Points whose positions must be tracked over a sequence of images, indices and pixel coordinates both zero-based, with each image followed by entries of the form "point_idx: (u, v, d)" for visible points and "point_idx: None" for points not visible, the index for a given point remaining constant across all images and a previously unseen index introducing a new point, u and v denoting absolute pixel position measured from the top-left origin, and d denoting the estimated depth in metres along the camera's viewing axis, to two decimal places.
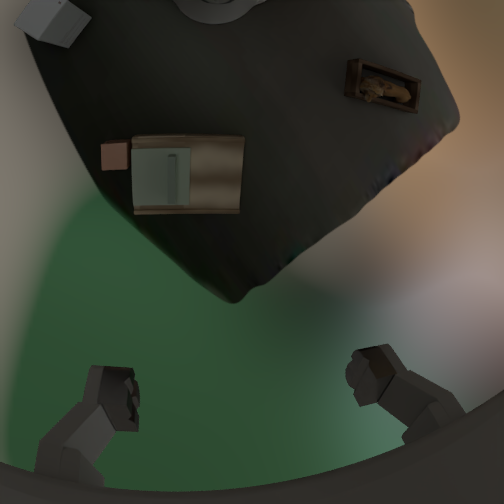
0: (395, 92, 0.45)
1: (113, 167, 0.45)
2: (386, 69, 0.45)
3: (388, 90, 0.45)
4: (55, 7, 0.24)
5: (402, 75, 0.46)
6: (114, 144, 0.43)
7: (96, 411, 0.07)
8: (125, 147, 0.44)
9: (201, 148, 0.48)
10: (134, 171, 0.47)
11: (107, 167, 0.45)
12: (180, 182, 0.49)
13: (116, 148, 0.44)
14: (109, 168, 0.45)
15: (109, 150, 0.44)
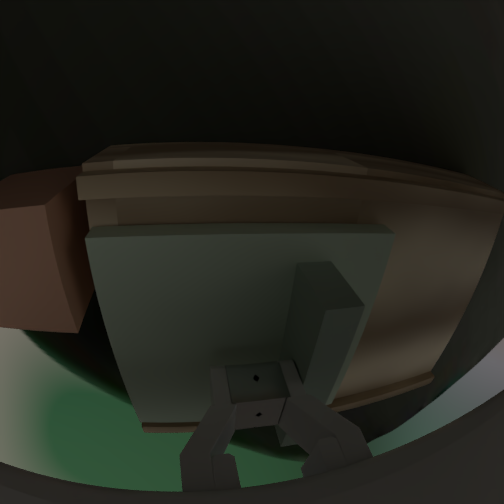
0: None
1: (20, 321, 0.08)
2: None
3: None
4: None
5: None
6: None
7: (233, 411, 0.08)
8: (45, 232, 0.07)
9: (412, 227, 0.11)
10: (118, 335, 0.10)
11: None
12: None
13: (4, 237, 0.07)
14: (7, 322, 0.08)
15: None
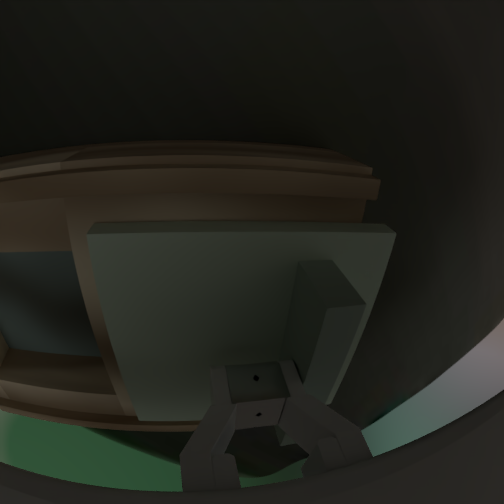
0: None
1: None
2: None
3: None
4: None
5: None
6: None
7: (233, 411, 0.08)
8: None
9: None
10: (118, 332, 0.10)
11: None
12: None
13: None
14: None
15: None
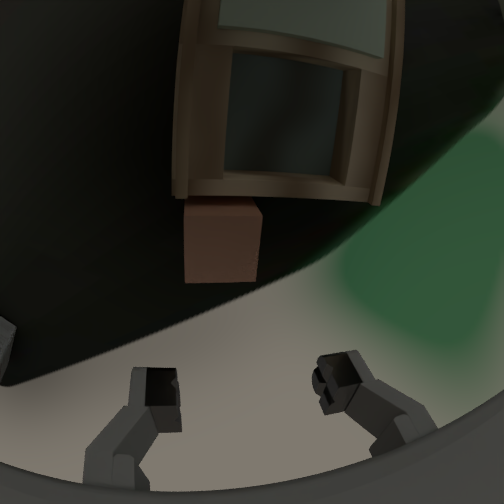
0: None
1: (252, 252, 0.18)
2: None
3: None
4: None
5: None
6: (187, 248, 0.17)
7: (144, 414, 0.07)
8: (198, 218, 0.17)
9: None
10: (289, 27, 0.13)
11: (250, 267, 0.19)
12: None
13: (199, 244, 0.18)
14: (253, 262, 0.19)
15: (203, 261, 0.18)
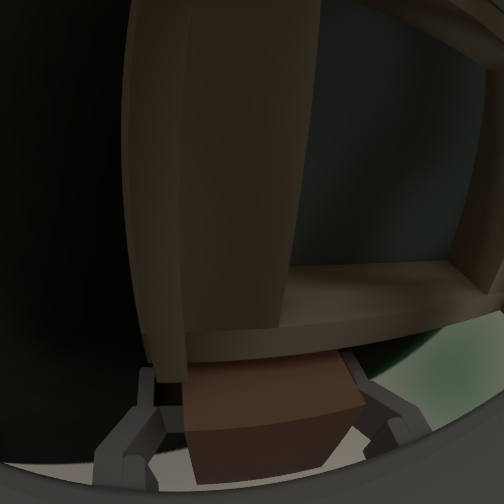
0: None
1: (328, 446, 0.08)
2: None
3: None
4: None
5: None
6: (197, 462, 0.07)
7: (154, 414, 0.07)
8: (220, 431, 0.06)
9: None
10: None
11: (317, 459, 0.08)
12: None
13: (223, 457, 0.07)
14: (325, 454, 0.08)
15: (232, 468, 0.07)
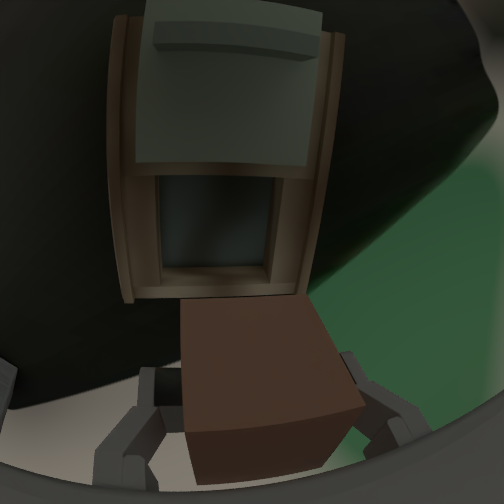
0: None
1: (328, 447, 0.08)
2: None
3: None
4: None
5: None
6: (197, 462, 0.07)
7: (154, 414, 0.07)
8: (220, 432, 0.06)
9: None
10: (201, 154, 0.16)
11: (317, 460, 0.08)
12: (252, 22, 0.13)
13: (223, 457, 0.07)
14: (325, 454, 0.08)
15: (232, 469, 0.07)
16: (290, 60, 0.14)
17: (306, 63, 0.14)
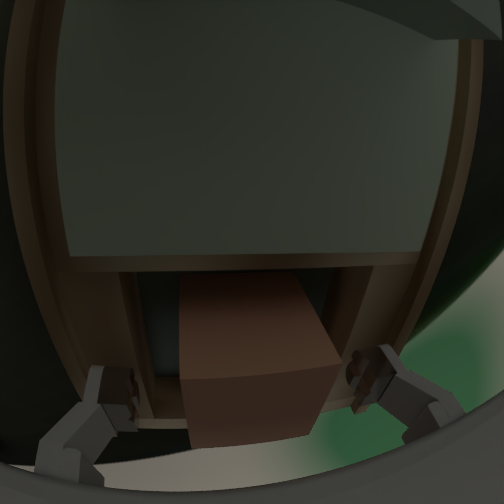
0: None
1: (312, 409, 0.09)
2: None
3: None
4: None
5: None
6: (191, 418, 0.08)
7: (96, 411, 0.07)
8: (211, 381, 0.07)
9: None
10: (220, 239, 0.07)
11: (303, 424, 0.09)
12: None
13: (214, 412, 0.08)
14: (310, 419, 0.09)
15: (223, 428, 0.09)
16: (417, 32, 0.05)
17: (441, 45, 0.05)
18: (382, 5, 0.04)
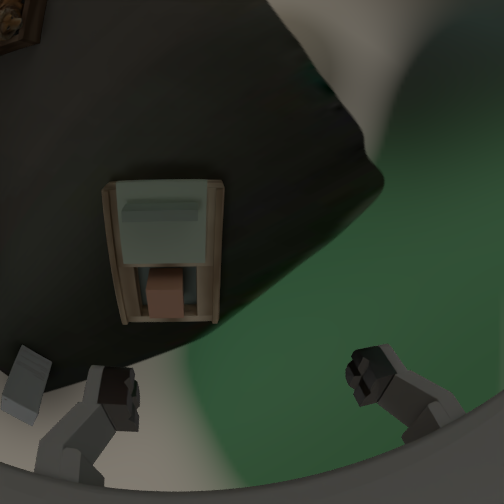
0: None
1: (180, 305, 0.36)
2: None
3: None
4: (10, 402, 0.32)
5: None
6: (148, 303, 0.35)
7: (96, 411, 0.07)
8: (152, 290, 0.35)
9: None
10: (153, 260, 0.35)
11: (180, 311, 0.37)
12: (169, 195, 0.31)
13: (154, 301, 0.35)
14: (181, 309, 0.37)
15: (157, 308, 0.36)
16: None
17: (199, 213, 0.33)
18: None
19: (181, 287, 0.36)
